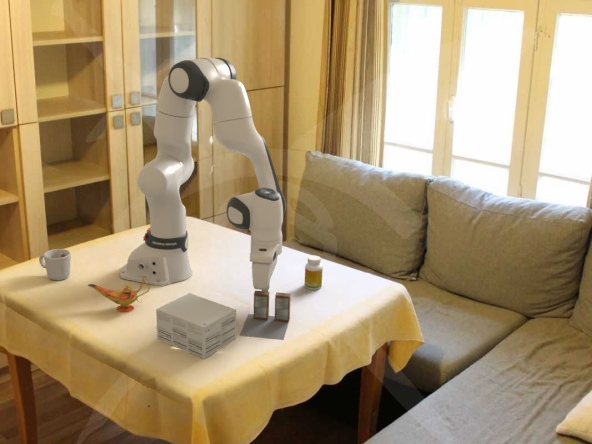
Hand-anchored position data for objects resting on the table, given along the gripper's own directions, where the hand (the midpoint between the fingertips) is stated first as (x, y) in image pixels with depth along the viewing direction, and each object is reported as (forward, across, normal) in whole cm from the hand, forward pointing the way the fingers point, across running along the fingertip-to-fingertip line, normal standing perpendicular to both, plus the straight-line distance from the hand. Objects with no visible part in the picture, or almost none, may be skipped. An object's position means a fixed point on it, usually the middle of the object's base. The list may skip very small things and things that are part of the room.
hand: (265, 290), depth 216 cm
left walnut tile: (+6, +6, 0) cm, 8 cm away
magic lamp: (+6, +7, -41) cm, 42 cm away
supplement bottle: (+6, -19, +12) cm, 23 cm away
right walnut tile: (+6, +6, +6) cm, 10 cm away
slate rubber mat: (+6, +10, +2) cm, 12 cm away
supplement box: (+7, +20, -15) cm, 26 cm away
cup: (+6, -10, -68) cm, 69 cm away
